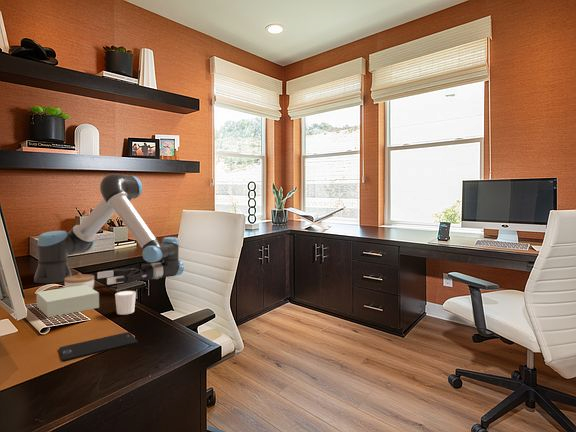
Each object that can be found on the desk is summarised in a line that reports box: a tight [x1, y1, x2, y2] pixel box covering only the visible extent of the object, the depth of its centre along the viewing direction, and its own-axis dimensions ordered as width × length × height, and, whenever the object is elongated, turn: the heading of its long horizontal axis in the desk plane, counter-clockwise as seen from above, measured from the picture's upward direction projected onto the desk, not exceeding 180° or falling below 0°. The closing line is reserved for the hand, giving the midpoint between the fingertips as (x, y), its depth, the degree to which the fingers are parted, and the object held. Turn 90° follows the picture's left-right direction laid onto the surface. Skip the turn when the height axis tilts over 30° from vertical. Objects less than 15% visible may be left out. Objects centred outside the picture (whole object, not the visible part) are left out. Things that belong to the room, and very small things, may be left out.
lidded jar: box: [63, 272, 95, 290], centre depth 140 cm, size 11×11×9 cm
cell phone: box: [58, 331, 138, 362], centre depth 94 cm, size 9×18×1 cm, turn 130°
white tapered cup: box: [114, 290, 137, 316], centre depth 121 cm, size 7×7×7 cm
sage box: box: [36, 285, 100, 318], centre depth 125 cm, size 16×16×6 cm
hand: (102, 278), depth 145 cm, fingers open, 13 cm apart
